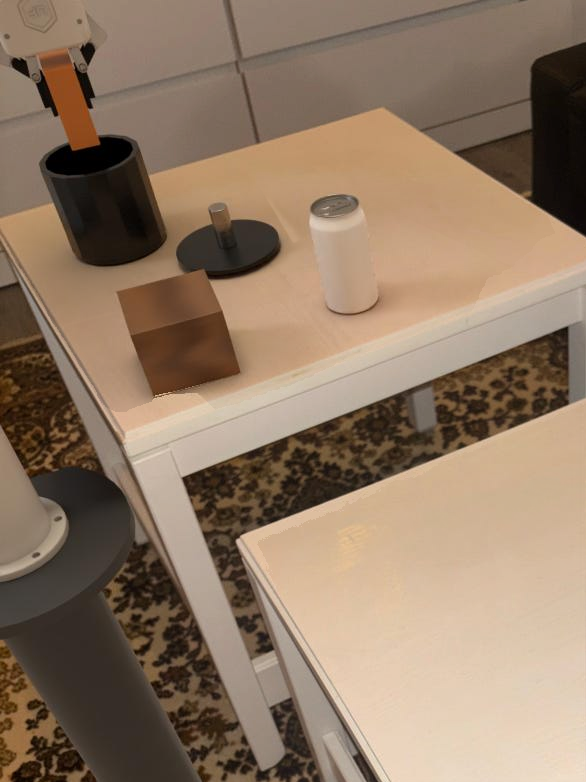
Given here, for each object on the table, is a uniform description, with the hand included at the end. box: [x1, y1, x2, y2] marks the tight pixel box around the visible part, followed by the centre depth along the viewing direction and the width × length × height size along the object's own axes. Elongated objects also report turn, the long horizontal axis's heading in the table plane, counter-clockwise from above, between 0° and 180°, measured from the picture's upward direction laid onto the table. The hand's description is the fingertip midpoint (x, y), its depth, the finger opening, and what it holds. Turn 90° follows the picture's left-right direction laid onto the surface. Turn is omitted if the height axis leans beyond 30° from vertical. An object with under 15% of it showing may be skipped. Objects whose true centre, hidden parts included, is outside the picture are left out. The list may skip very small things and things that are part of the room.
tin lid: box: [175, 202, 281, 276], centre depth 128 cm, size 14×14×6 cm
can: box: [308, 193, 379, 315], centre depth 115 cm, size 6×6×12 cm
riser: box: [116, 269, 242, 396], centre depth 111 cm, size 10×10×8 cm
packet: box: [37, 49, 100, 151], centre depth 121 cm, size 4×7×9 cm, turn 22°
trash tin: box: [38, 133, 167, 266], centre depth 130 cm, size 13×13×12 cm
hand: (72, 107), depth 122 cm, fingers closed on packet, 3 cm apart
